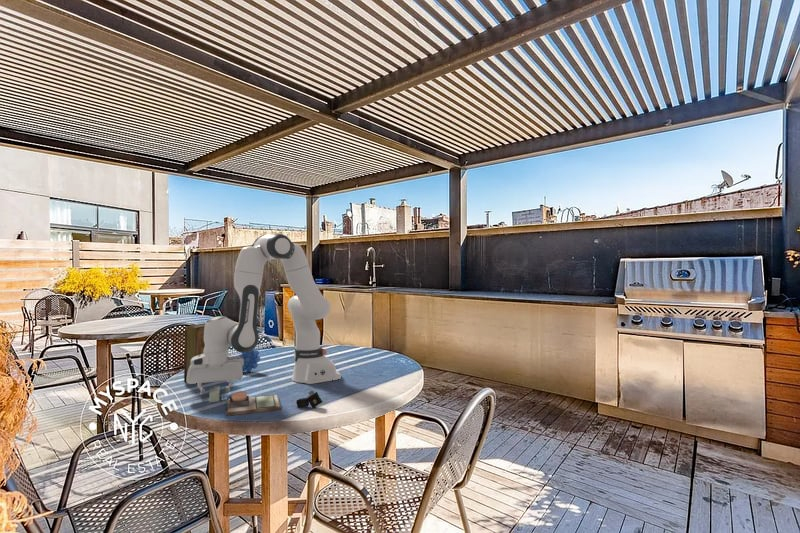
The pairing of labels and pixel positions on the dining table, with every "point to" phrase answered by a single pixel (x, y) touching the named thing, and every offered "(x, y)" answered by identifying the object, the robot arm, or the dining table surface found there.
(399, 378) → the dining table surface
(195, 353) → the book
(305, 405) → the black angular piece
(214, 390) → the marker
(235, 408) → the picture board
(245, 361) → the grapes
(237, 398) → the button
